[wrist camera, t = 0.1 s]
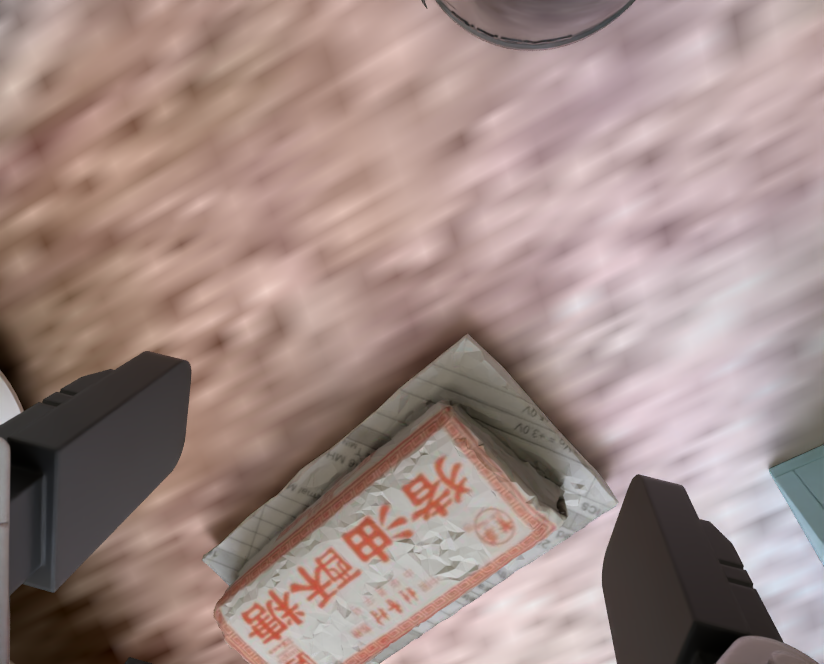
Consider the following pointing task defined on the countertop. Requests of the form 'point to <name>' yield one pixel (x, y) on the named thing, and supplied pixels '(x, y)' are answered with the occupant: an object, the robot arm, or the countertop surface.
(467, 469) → the packaged product
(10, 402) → the flower in vase
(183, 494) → the countertop surface
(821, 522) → the box
